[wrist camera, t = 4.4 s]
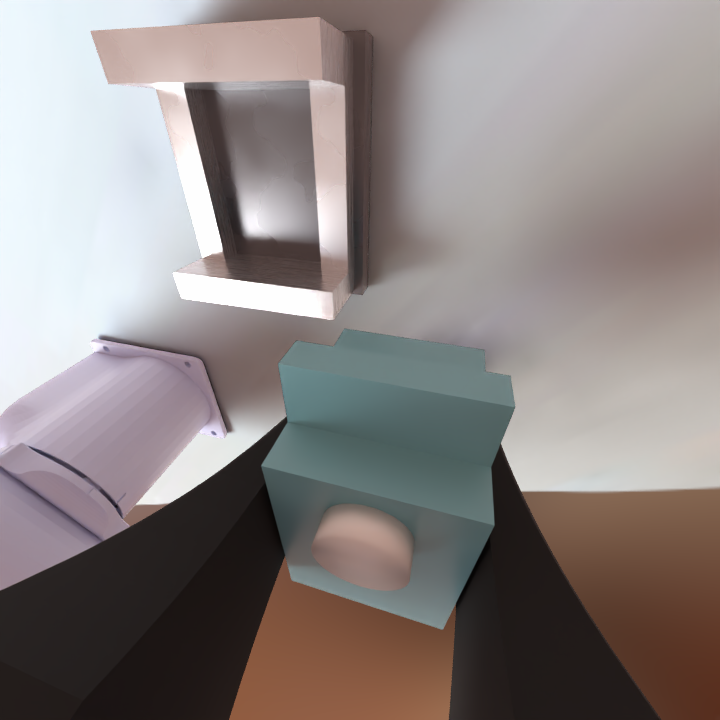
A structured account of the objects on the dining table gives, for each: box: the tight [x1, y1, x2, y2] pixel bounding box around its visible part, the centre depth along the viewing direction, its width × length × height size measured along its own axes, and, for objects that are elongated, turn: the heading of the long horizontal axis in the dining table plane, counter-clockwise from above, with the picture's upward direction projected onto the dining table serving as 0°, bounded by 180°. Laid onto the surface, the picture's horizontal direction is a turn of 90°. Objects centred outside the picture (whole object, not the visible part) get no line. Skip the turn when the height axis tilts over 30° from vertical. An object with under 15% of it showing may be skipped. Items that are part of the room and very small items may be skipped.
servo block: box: [261, 329, 515, 629], centre depth 9 cm, size 4×8×6 cm, turn 179°
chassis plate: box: [91, 17, 373, 320], centre depth 13 cm, size 8×9×4 cm
